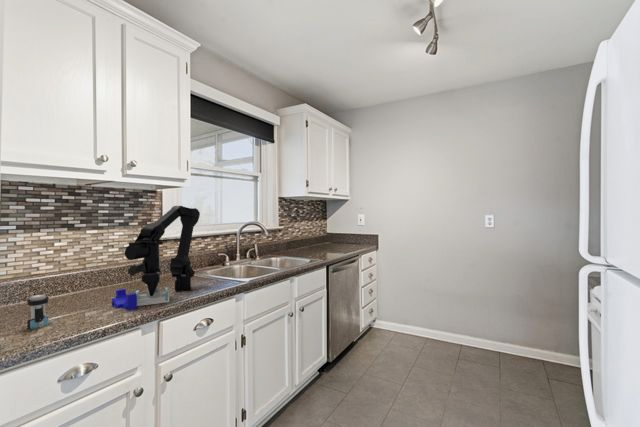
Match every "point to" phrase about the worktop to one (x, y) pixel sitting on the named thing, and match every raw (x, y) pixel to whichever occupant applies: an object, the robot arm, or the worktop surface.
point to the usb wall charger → (156, 293)
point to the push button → (37, 311)
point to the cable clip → (125, 300)
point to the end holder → (146, 300)
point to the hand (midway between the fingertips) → (152, 293)
